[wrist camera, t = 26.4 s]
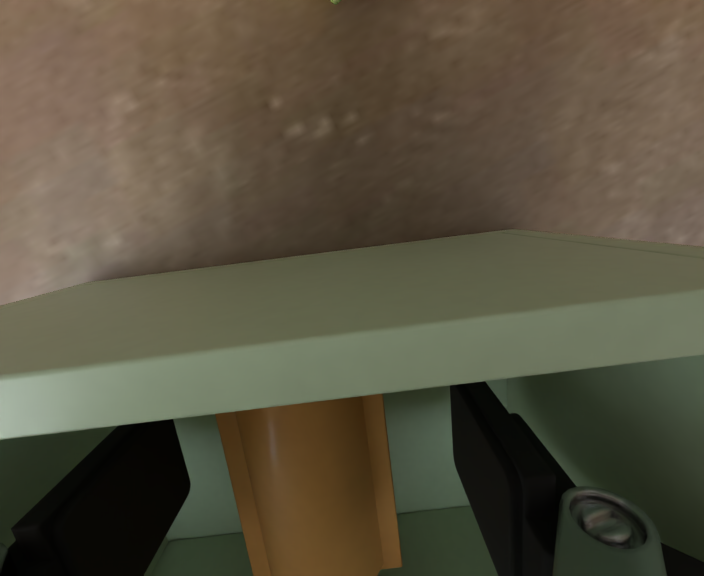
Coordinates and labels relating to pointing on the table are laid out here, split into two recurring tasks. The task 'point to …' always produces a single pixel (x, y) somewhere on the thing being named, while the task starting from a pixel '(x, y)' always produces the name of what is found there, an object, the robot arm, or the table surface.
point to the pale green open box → (376, 376)
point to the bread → (314, 487)
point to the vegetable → (335, 1)
